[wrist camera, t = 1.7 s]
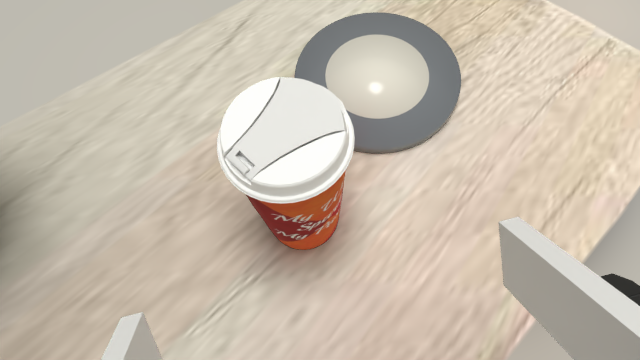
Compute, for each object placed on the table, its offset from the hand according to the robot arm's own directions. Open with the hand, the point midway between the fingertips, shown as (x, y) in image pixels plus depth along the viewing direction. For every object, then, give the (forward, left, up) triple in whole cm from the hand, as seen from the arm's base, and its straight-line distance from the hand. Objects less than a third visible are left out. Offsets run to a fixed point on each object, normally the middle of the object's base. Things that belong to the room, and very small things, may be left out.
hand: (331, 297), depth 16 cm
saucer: (+10, +23, -20) cm, 32 cm away
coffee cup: (0, +11, -21) cm, 23 cm away
